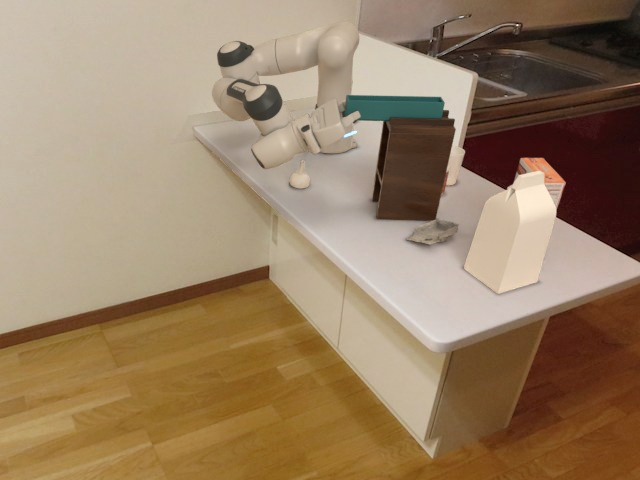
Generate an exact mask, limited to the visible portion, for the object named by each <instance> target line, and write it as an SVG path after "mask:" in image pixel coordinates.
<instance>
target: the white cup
mask: <svg viewBox="0 0 640 480" xmlns="http://www.w3.org/2000/svg"><path fill="white" fill-rule="evenodd" d="M465 154H466V150H465V149H464V148H463V147H460V146H456V145H452V148H451V153H450V157H449V162H448V165H449V173H448V178H447V182H446V186H454V185H456V183H457V181H458V180H457V179H458V176H459V174H460V172H461V167H462V164H463V161H464V157H465Z"/></svg>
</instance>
